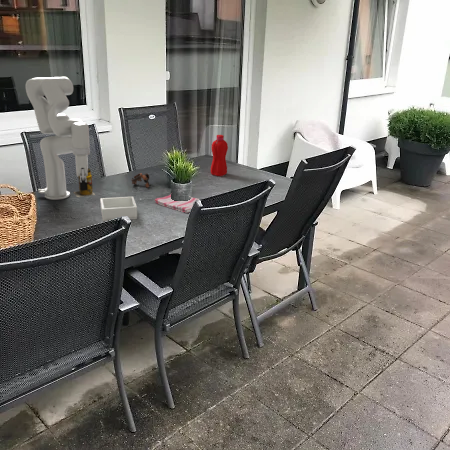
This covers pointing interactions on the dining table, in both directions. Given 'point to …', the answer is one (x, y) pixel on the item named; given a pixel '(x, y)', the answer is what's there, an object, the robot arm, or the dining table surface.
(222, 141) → the water bottle
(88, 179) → the condiment
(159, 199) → the dish towel
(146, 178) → the brown jointed arch figure
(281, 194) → the dining table surface
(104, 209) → the bin
